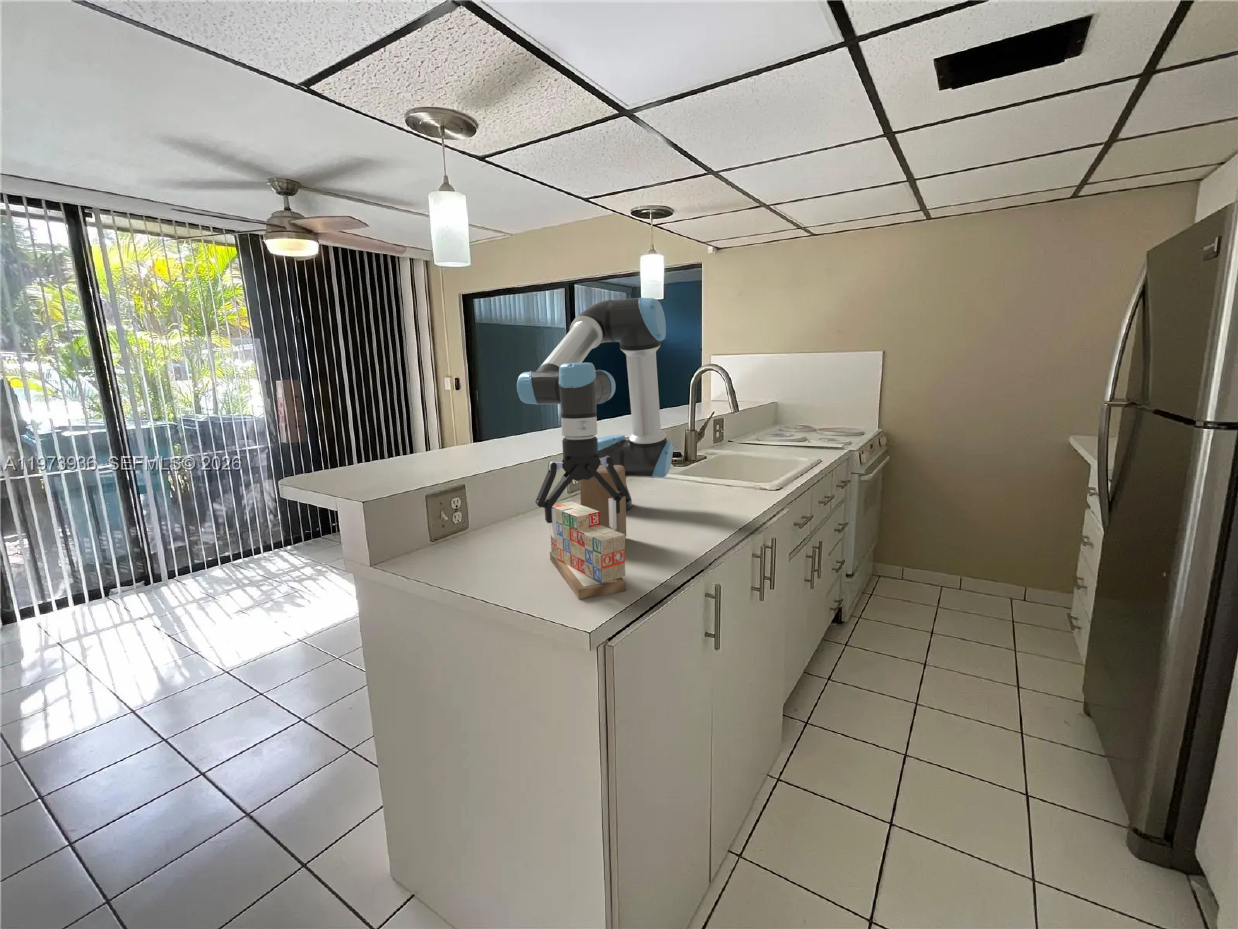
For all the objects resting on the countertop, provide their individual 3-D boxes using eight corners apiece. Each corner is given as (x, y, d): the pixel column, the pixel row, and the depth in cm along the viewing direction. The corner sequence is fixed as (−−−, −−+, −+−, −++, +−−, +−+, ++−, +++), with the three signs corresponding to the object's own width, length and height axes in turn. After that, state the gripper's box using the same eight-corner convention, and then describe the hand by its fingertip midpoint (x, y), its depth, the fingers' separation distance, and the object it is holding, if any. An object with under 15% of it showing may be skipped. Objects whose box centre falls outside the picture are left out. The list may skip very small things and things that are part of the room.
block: (619, 550, 134) (617, 472, 131) (581, 548, 136) (578, 471, 133) (627, 537, 144) (625, 464, 140) (591, 536, 146) (588, 464, 142)
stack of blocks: (626, 577, 112) (625, 520, 110) (601, 584, 109) (599, 526, 106) (573, 549, 129) (571, 500, 127) (550, 555, 126) (548, 504, 123)
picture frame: (589, 553, 133) (589, 545, 132) (625, 590, 110) (625, 581, 110) (550, 559, 129) (549, 551, 129) (578, 599, 107) (578, 589, 107)
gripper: (524, 444, 106) (531, 545, 111) (640, 434, 115) (642, 529, 119) (517, 439, 113) (524, 535, 117) (627, 430, 122) (630, 519, 126)
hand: (584, 532), depth 118 cm, fingers open, 13 cm apart
